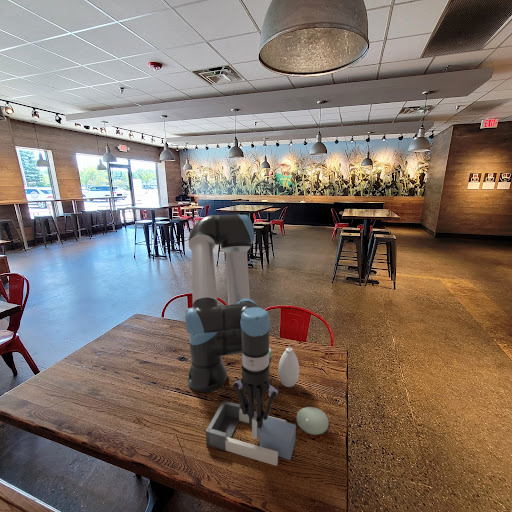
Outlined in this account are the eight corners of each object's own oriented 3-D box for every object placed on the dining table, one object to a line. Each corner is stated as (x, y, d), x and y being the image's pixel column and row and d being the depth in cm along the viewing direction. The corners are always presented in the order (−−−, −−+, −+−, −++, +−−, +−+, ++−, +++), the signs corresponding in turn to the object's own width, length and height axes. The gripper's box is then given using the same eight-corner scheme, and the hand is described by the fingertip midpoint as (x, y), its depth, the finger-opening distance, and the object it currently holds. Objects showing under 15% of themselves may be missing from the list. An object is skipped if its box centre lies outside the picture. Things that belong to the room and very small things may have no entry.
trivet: (294, 430, 83) (294, 428, 82) (299, 406, 92) (299, 404, 92) (327, 438, 80) (327, 436, 79) (329, 412, 89) (329, 410, 89)
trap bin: (206, 445, 78) (205, 431, 77) (223, 412, 89) (223, 400, 88) (225, 450, 76) (224, 436, 75) (240, 417, 87) (240, 404, 86)
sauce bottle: (301, 381, 104) (302, 339, 99) (295, 395, 97) (296, 350, 93) (282, 375, 107) (282, 335, 103) (275, 388, 100) (275, 345, 96)
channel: (225, 450, 76) (225, 440, 75) (240, 417, 87) (240, 408, 86) (276, 466, 72) (277, 455, 71) (285, 429, 83) (286, 420, 82)
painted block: (259, 449, 77) (259, 431, 75) (266, 432, 82) (266, 415, 81) (290, 460, 73) (290, 442, 72) (295, 441, 79) (295, 425, 77)
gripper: (228, 367, 72) (230, 439, 77) (275, 377, 68) (274, 452, 73) (238, 352, 79) (240, 419, 84) (281, 360, 75) (280, 430, 80)
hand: (256, 434), depth 79 cm, fingers closed
